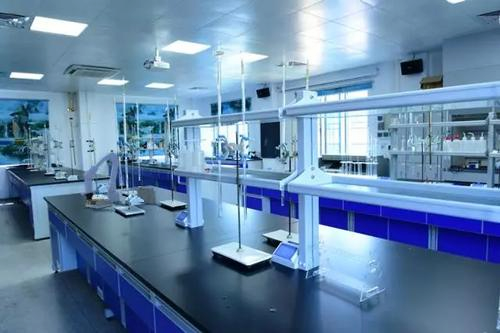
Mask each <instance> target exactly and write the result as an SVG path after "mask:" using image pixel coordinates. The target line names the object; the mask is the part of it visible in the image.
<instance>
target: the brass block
mask: <svg viewBox="0 0 500 333" xmlns="http://www.w3.org/2000/svg"><path fill="white" fill-rule="evenodd" d="M95 199H96V202H100V201H105V198H103V197H97V198H95Z"/></svg>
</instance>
